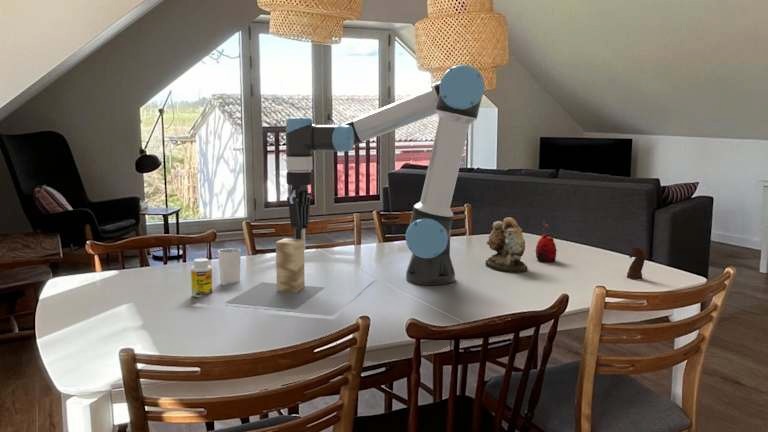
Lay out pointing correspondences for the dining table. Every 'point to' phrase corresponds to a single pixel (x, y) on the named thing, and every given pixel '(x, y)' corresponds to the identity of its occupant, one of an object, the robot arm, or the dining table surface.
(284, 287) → the oak block
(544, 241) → the red clay folk toy
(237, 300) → the mat
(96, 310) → the dining table surface
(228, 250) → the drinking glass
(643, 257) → the chess piece
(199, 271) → the supplement bottle
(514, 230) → the owl figurine
